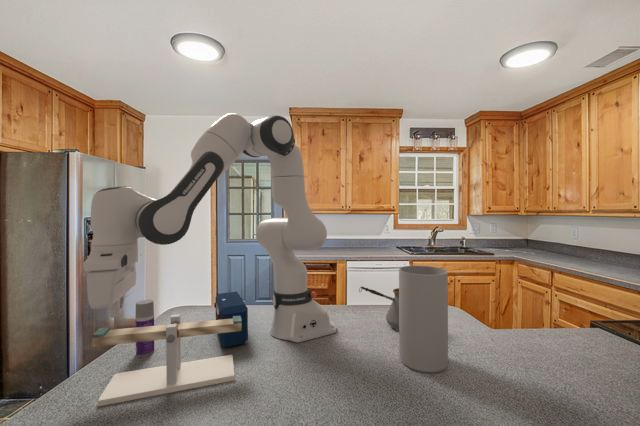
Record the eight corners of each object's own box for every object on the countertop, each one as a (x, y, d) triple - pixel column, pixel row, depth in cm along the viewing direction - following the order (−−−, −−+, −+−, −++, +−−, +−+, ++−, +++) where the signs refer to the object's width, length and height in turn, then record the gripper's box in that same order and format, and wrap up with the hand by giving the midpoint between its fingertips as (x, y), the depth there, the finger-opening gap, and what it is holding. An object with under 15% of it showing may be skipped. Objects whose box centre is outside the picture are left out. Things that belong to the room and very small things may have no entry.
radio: (213, 326, 105) (213, 271, 105) (238, 322, 108) (238, 268, 108) (219, 351, 86) (218, 284, 86) (249, 345, 89) (248, 281, 89)
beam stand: (232, 358, 82) (231, 306, 81) (234, 380, 71) (234, 320, 71) (115, 378, 72) (114, 319, 72) (97, 406, 62) (96, 338, 62)
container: (145, 357, 83) (145, 304, 83) (131, 356, 84) (131, 303, 83) (158, 349, 87) (157, 299, 87) (144, 348, 88) (144, 299, 88)
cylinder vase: (413, 346, 88) (412, 264, 88) (455, 361, 79) (455, 269, 79) (390, 361, 79) (390, 270, 79) (435, 380, 70) (435, 277, 70)
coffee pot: (410, 320, 109) (410, 280, 109) (425, 332, 98) (425, 288, 98) (355, 323, 107) (355, 282, 107) (364, 336, 95) (363, 291, 95)
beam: (240, 326, 79) (240, 315, 79) (241, 332, 75) (241, 321, 75) (99, 340, 68) (99, 327, 68) (91, 349, 64) (92, 335, 64)
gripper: (114, 251, 76) (115, 303, 77) (79, 264, 57) (81, 335, 57) (142, 249, 78) (143, 300, 79) (117, 262, 59) (118, 330, 59)
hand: (116, 315), depth 68 cm, fingers closed
